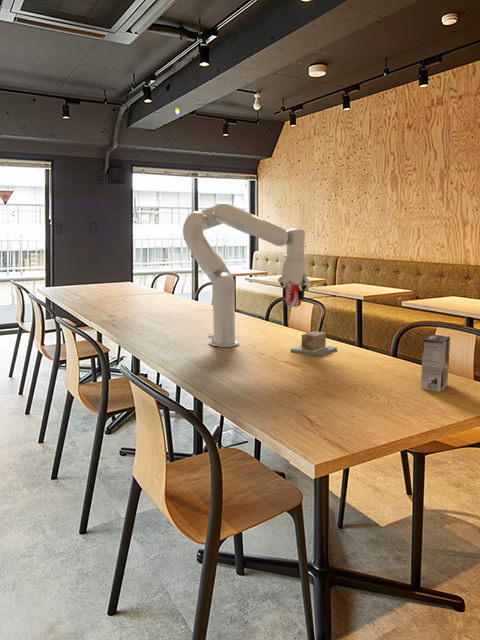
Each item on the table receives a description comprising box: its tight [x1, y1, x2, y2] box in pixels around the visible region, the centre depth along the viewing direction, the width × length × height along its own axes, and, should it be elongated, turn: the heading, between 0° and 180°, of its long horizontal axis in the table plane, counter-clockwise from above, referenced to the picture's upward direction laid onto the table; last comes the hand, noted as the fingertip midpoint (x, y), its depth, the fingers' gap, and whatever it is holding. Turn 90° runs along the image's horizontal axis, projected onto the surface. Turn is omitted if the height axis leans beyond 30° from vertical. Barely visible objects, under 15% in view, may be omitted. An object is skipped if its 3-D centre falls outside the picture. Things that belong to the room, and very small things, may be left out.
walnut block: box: [301, 330, 327, 351], centre depth 211 cm, size 6×10×6 cm, turn 141°
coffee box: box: [420, 334, 451, 393], centre depth 160 cm, size 9×6×16 cm
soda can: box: [284, 281, 302, 308], centre depth 222 cm, size 7×7×12 cm
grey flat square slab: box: [290, 344, 338, 358], centre depth 212 cm, size 14×14×1 cm
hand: (293, 298), depth 222 cm, fingers closed on soda can, 7 cm apart
